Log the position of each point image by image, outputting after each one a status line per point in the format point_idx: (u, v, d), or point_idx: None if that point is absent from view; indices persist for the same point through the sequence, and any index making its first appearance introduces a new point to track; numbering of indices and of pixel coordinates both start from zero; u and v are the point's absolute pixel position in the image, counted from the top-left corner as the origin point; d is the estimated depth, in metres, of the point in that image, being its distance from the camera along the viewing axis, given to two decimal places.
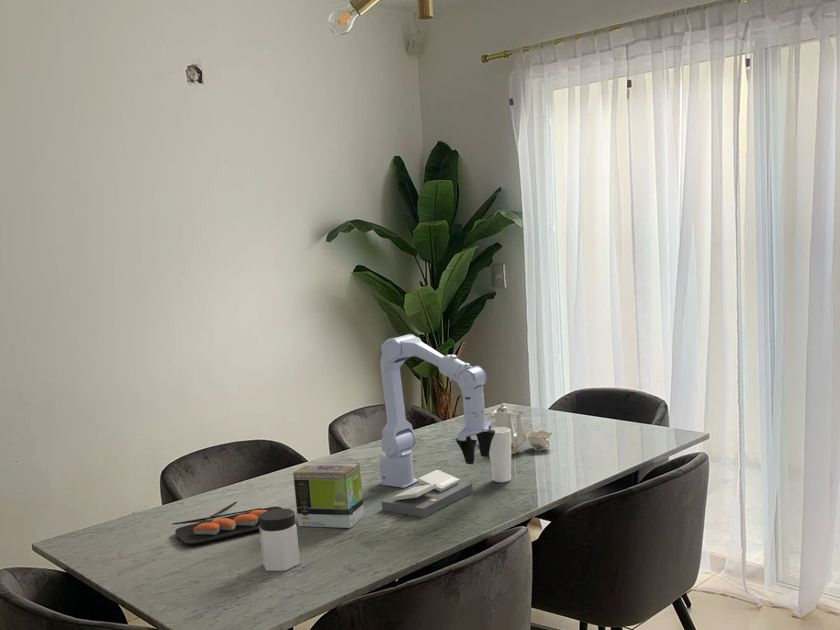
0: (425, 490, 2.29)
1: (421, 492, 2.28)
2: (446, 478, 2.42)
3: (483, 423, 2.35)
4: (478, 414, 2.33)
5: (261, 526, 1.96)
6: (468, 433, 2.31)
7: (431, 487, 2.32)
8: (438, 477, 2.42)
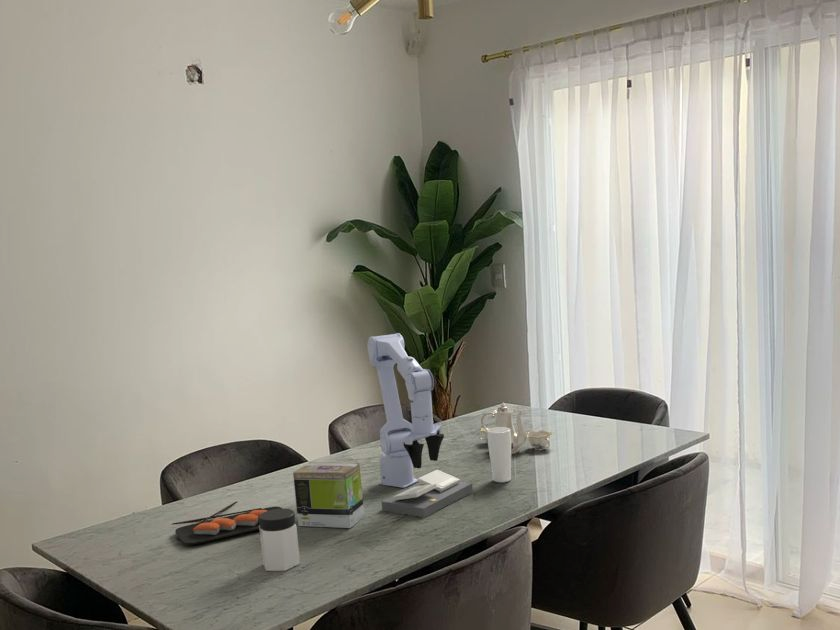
0: (425, 490, 2.29)
1: (421, 492, 2.28)
2: (446, 478, 2.42)
3: (431, 427, 2.33)
4: (425, 418, 2.32)
5: (261, 526, 1.96)
6: (415, 437, 2.30)
7: (431, 487, 2.32)
8: (438, 477, 2.42)
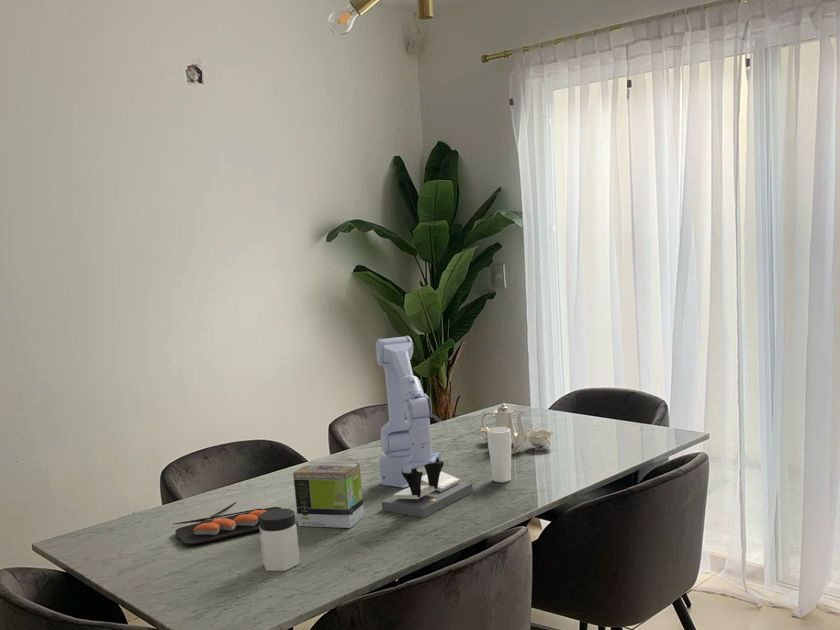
0: (425, 492, 2.29)
1: (421, 494, 2.28)
2: (446, 478, 2.42)
3: (430, 454, 2.28)
4: (424, 445, 2.26)
5: (261, 526, 1.96)
6: (413, 465, 2.24)
7: (431, 489, 2.32)
8: None
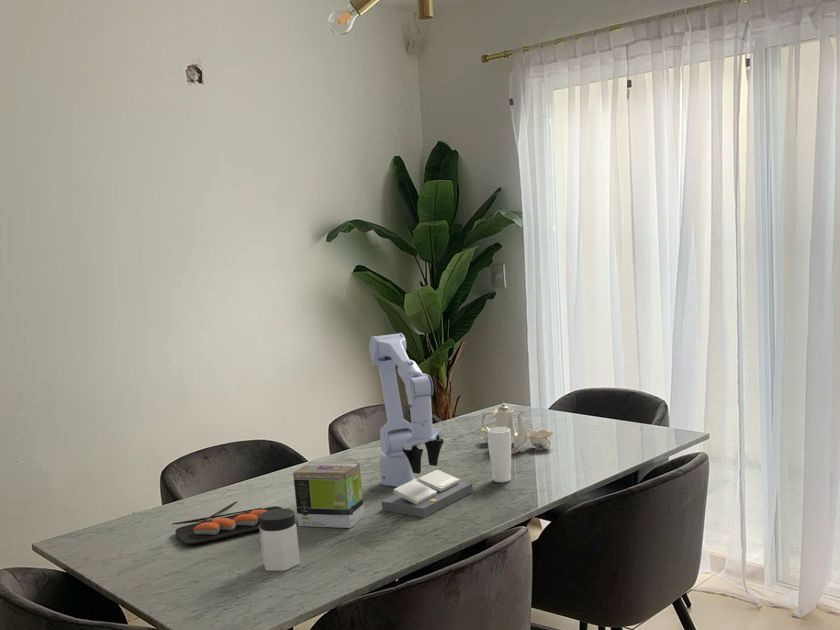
0: (426, 498, 2.30)
1: (422, 500, 2.28)
2: (446, 478, 2.42)
3: (430, 432, 2.32)
4: (425, 423, 2.31)
5: (261, 526, 1.96)
6: (414, 442, 2.29)
7: (432, 495, 2.32)
8: (438, 477, 2.42)
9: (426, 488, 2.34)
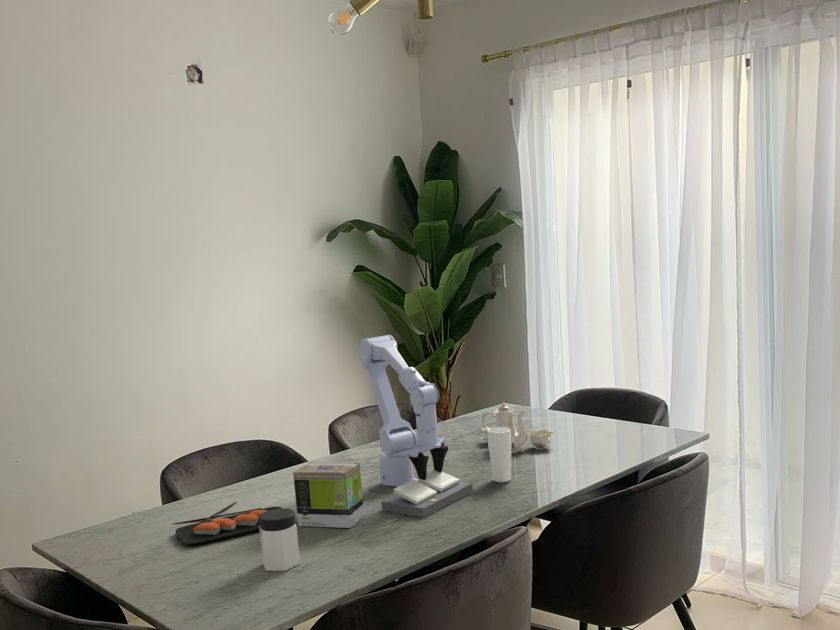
0: (426, 498, 2.30)
1: (422, 500, 2.28)
2: (446, 478, 2.42)
3: (435, 439, 2.40)
4: (430, 431, 2.39)
5: (261, 526, 1.96)
6: (420, 449, 2.37)
7: (432, 495, 2.32)
8: (438, 477, 2.42)
9: (426, 488, 2.34)
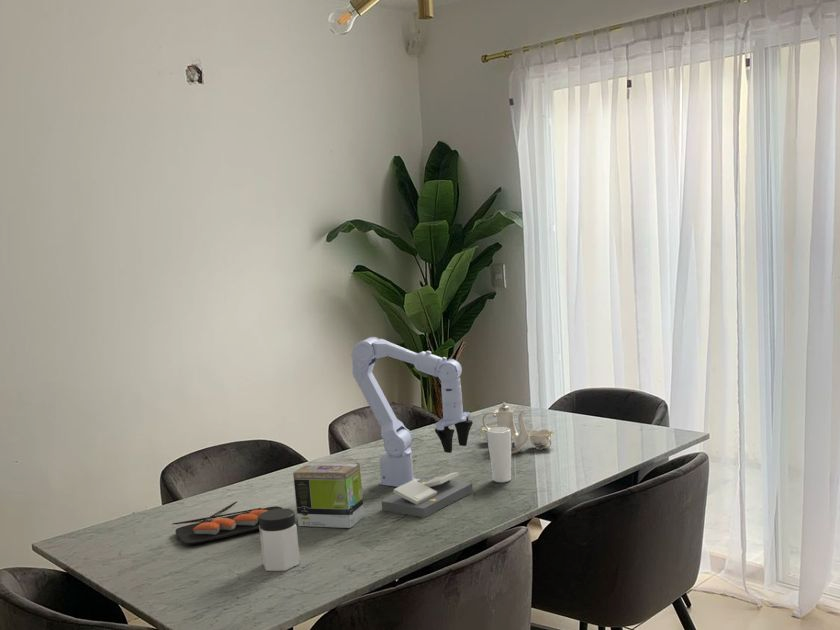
0: (426, 498, 2.30)
1: (422, 500, 2.28)
2: (445, 476, 2.42)
3: (461, 413, 2.46)
4: (456, 405, 2.45)
5: (261, 526, 1.96)
6: (446, 423, 2.43)
7: (432, 495, 2.32)
8: (437, 478, 2.42)
9: (426, 488, 2.34)
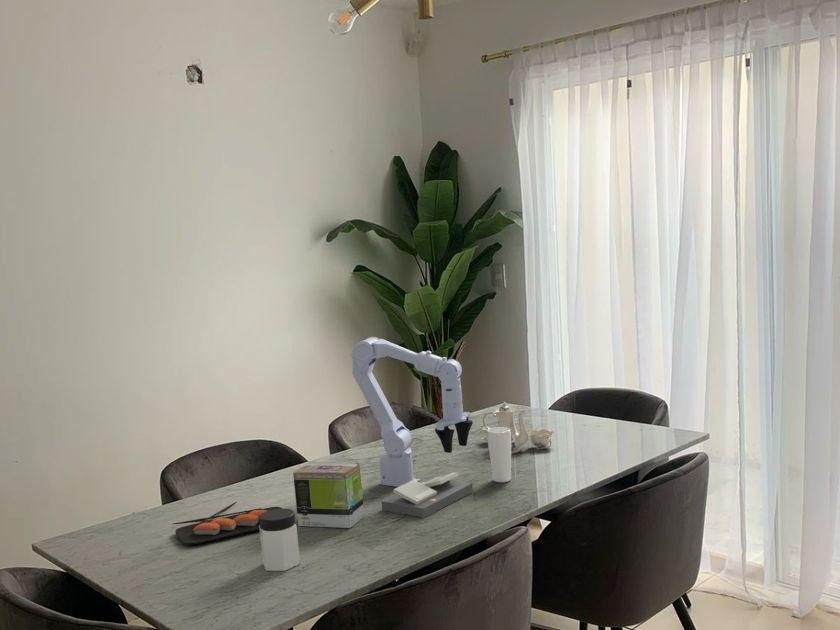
0: (426, 498, 2.30)
1: (422, 500, 2.28)
2: (445, 476, 2.42)
3: (461, 413, 2.46)
4: (456, 405, 2.45)
5: (261, 526, 1.96)
6: (446, 423, 2.43)
7: (432, 495, 2.32)
8: (437, 478, 2.42)
9: (426, 488, 2.34)
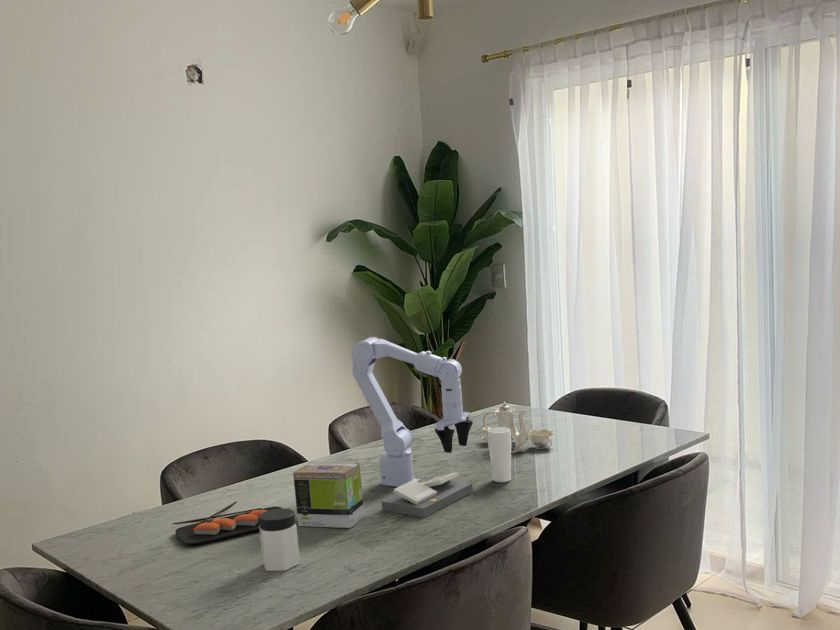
0: (426, 498, 2.30)
1: (422, 500, 2.28)
2: (445, 476, 2.42)
3: (461, 413, 2.46)
4: (456, 405, 2.45)
5: (261, 526, 1.96)
6: (446, 423, 2.43)
7: (432, 495, 2.32)
8: (437, 478, 2.42)
9: (426, 488, 2.34)
